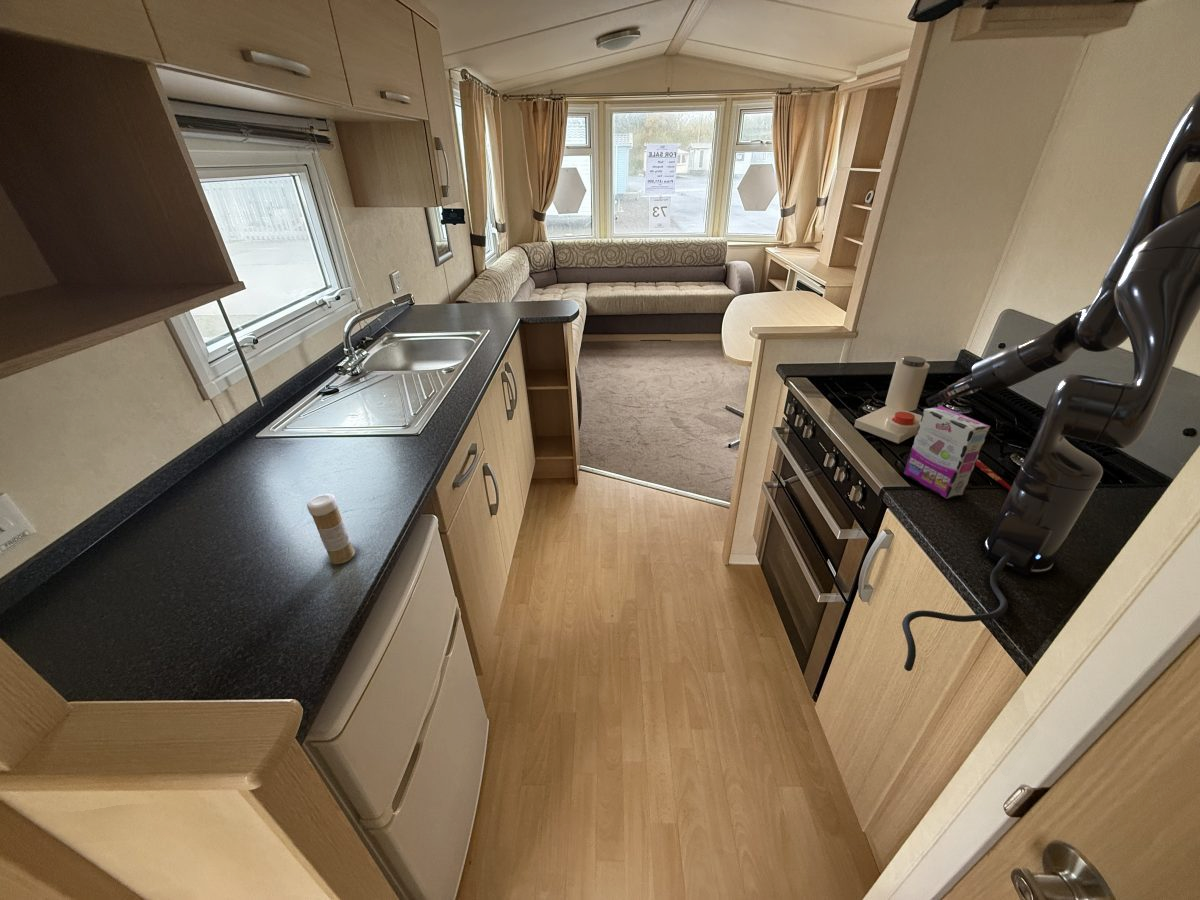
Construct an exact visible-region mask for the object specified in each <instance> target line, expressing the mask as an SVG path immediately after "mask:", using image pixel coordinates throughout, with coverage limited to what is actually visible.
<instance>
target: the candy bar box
mask: <svg viewBox="0 0 1200 900" xmlns="http://www.w3.org/2000/svg"><path fill="white" fill-rule="evenodd" d="M990 428H991V425H989V424H986V423H984V422H981V421H979V420H976V419H974V418H971V417H969V416H966V415H964V414H962V413H960V412H958V411H954V410H953V409H950V408H947V407H945V406H942V405H939V406H932V407H929V408H924V409H923V412H922V418H921V421H920V424H919V427H918V430H917V434H916V435H915V436H914V440H913V443H912V447H911V449H910V453H909V456H908V459H907V462H906V465H905V468H904V471H903V474H904V475H905V476H907V477H908V478H910V479H912V480H913V481H915V482H917V483H919V484H920V485H922V486H924V487H925V488H927V489H928V490H930V491H932V492H934V493H936V494H937V495H939V496H941V497H943V498H944V499H952V498H955V497H956V498H957V497H960V496H964V494H965V491H966V488H967V486H968V484H969V481H970V478H971V476H972V474H973V471H974V469H975V467H976V466H975V464H976V461H977V459H979V457H980V454H981V451H982V449H983V446H984V443H985V441H986V438H987V436H988V434H989V431H990Z"/></svg>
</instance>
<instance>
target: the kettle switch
mask: <svg viewBox="0 0 1200 900" xmlns="http://www.w3.org/2000/svg"><path fill="white" fill-rule="evenodd" d="M914 418H915V416H914V415H913V414H911V413H908V412H896V413H895V416H894V419H893V421H894V422H895V423H898V424H900V425H912V424H913V421H914Z"/></svg>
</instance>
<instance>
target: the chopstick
mask: <svg viewBox="0 0 1200 900" xmlns="http://www.w3.org/2000/svg"><path fill="white" fill-rule="evenodd" d="M974 467H977V468H978V469H979V470H981V471H982V472H983V473H985V474H986V475H988V476H989V477H990V478H991V479H993V480H995V481H996V482H997V483H998V484H1000V485H1001V486H1002V487H1004V488H1005V489H1006V490H1007V491H1008V492H1009V491H1010V489H1011V487H1012V485H1010V484H1008V483H1007V482H1006V481H1005V480H1004V479H1003V478H1001V476H999V475H998V474H996V473H995V472H994V471H993V470H991V468H990V467H988V466H987V465H986V464H985V463H984V462H982V461H981V460H980V459H979V458H977V461H976V464H975V466H974Z"/></svg>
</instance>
